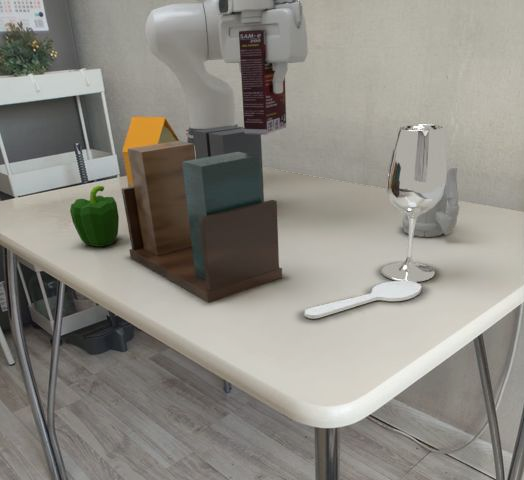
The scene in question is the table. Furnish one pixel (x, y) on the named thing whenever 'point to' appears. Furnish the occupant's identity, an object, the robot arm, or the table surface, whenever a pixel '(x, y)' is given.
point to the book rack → (201, 219)
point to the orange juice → (146, 137)
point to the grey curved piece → (439, 212)
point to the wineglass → (415, 187)
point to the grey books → (228, 144)
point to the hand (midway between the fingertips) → (263, 92)
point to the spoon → (369, 298)
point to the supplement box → (259, 87)
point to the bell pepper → (96, 219)
